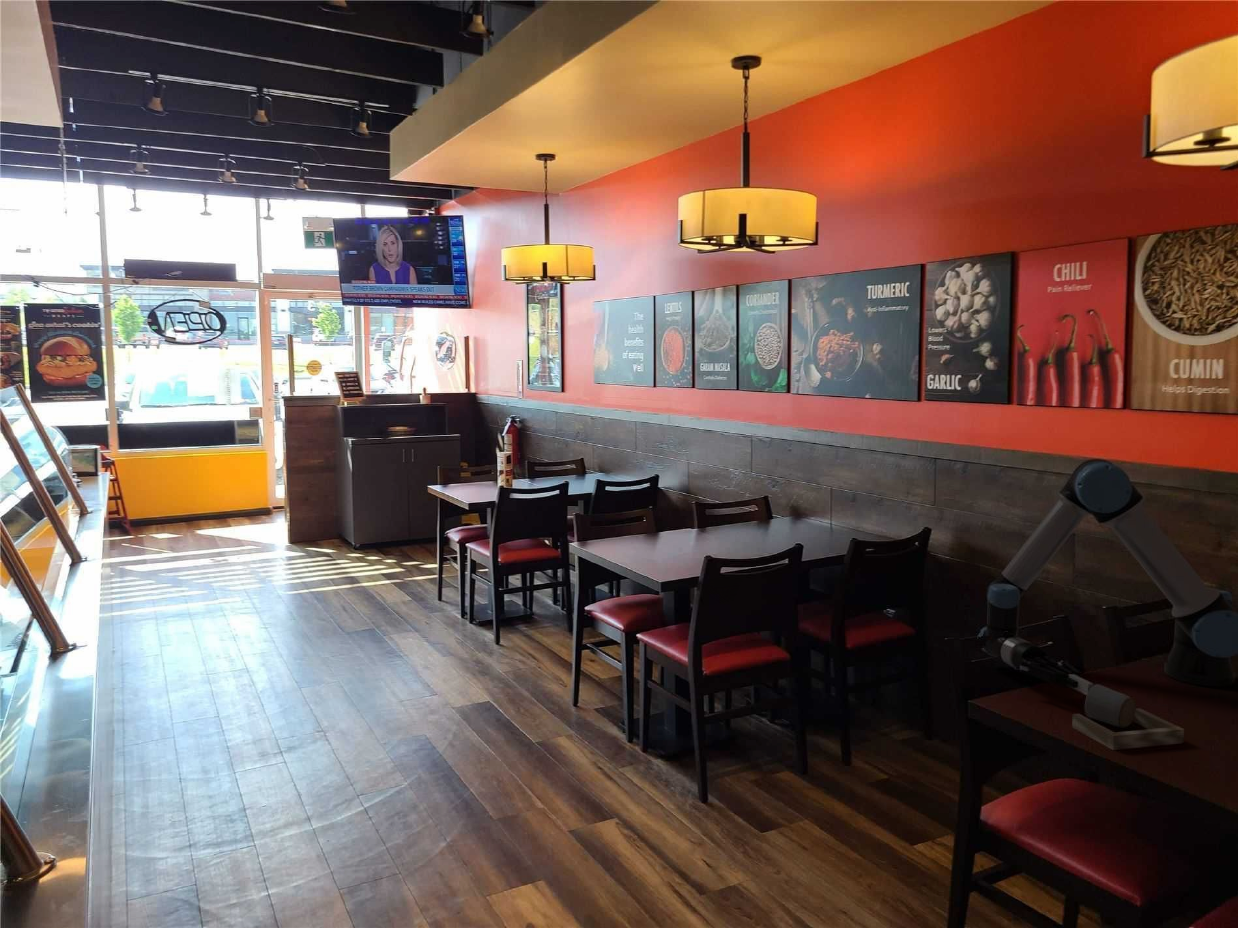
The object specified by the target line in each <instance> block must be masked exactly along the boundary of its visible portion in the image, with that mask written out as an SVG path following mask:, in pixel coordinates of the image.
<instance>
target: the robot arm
mask: <svg viewBox="0 0 1238 928" xmlns="http://www.w3.org/2000/svg"><path fill="white" fill-rule="evenodd" d="M1144 499H1145V498H1144V496H1143V495H1142V493H1141V492H1140V491H1139V490H1138V489H1137V488H1136V487H1135V485H1134V484H1133V483H1132V481H1131V479H1130V477H1129V475H1128V474H1127V473H1126V472H1125V471H1124V469H1122V468H1121V467H1120V466H1118V465H1116V464H1114V463H1113V462H1111V461H1108V460H1105V459H1101V458H1100V459H1099V458H1093V459H1092V458H1091V459H1089V460H1085V461H1083V462H1081V463H1080V464H1078V465H1077V466H1076V467H1075V469H1074V470H1073V472H1072V473H1071V475H1070V477H1069V478H1068V480H1067V481H1066V483H1065V484H1064V485H1063V487H1062V488H1061V490H1060V491H1059V492H1058V500H1057V502H1056V503H1055V504H1054V506H1052V508H1051V509H1050V510H1049V512H1048V513H1047V514H1046V515H1045V517H1044V518H1043V519H1042V521H1041V522H1040V523H1039V525H1037V527H1036V528H1035V530H1034V531H1033V532H1032V534H1031V535H1030V536H1029V537H1028V539H1027V540H1026V541H1025V542H1024V544H1022V546H1021V548H1020V549H1019V550H1018V552H1016V554H1015V555H1014V556H1013V558H1012V559H1011V560H1010V562H1009V563H1008V564H1007V565H1006V567H1005V568H1004V569H1003V570H1002V572H1001V574H1000V575H999V576H998V577H997V578H996V579H995V580H994V581H992V582H991V583H990V584H989V586H988V587H987V589H986V590H987V591H986V598H987V611H986V612H987V615H986V617H987V618H986V626H984V627H982V629H980V631H979V633H978V635H977V638H978V637H981V636H990V635H993V634H994V636H991V637H990V640H988V641H987V642H986V646H983V647H984V648H982V649H981V650H982V651H983V652H984V653H987V655H988V656H990V657H992V656H1001V658H1002V660H1003V661H1002V662H1003V663H1005V664H1006V665H1008V666H1010V667H1013V668H1014V670H1016V671H1019V673H1021V674H1025V675H1027V676H1032V677H1034V678H1036V679H1039V680H1042V681H1045V682H1048V683H1050V684H1052V685H1058V684H1060V685H1061V688H1062V689H1067V687H1070V688H1072V689H1074V690H1076V691H1078V692H1079V693H1081V694H1083V695H1086V696H1087V694H1088V692H1089V690H1090V689H1091V688H1092V687H1093V686H1094V683H1092V682H1090V681H1088V680H1087V679H1084V678H1082V672H1081V671H1080V670H1078V669H1077V668H1076V667H1075V666H1073V665H1072V664H1071V663H1069V660H1067V659H1062V660H1060V661H1056V660H1055V658H1051V657H1049V656H1048V655H1047V654H1046V652H1045V650H1044V649H1043V648H1042V647H1040V646H1038V645H1036V644H1034V643H1032V642H1030V641H1028V640H1026V639H1023V638H1021V637H1020V636H1018V629H1019V615H1020V614H1019V612H1020V603H1021V597H1022V596H1023V595H1024V593H1026V591H1027V589H1028V588H1029V587H1030V586H1031V584H1033V582H1034V581H1035V580H1036V579H1037V577H1038V576H1039V575H1040V574H1041V572H1042V571H1043V570H1044V568H1045V567H1046V566H1047V565H1048V563H1049V562H1050V561H1051V559H1053V557H1054V556H1055V555H1056V554H1057V553H1058V551H1059V550H1060V548H1061V547H1062V546H1063V545H1064V544H1065V543H1066V541H1067V540H1068V539H1069V537H1070V536H1071V535H1072V533H1073V532H1074V531H1075V530H1076V529H1077V527H1078V526H1080V524H1081V522H1082V521H1083V520H1084V518H1085V517H1088V516H1092V517H1094V519H1095V520H1096V521H1097V523H1098V524H1099V525H1103V526H1107V527H1110V529H1111V530H1112V531H1113V532H1114V534H1115V535H1116V536H1117V537H1118V538H1119V540H1120V541H1121V542H1122V544H1123V545H1124V546H1125V547H1126V549H1127V550H1128V551H1129V553H1131V555H1132V556H1133V557H1134V559H1135V560H1136V561H1137V562H1138V564H1139V565H1140V566H1141V567H1142V569H1143V570H1144V571H1145V572H1146V573H1147V575H1148V577H1150V578H1151V580H1152V581H1153V582H1154V584H1155V585H1156V586H1157V587H1158V588H1159V590H1160V591H1161V592H1162V593H1163V595H1164V596H1165V597H1166V599H1167V600H1168V601H1169V602H1170V604H1171V605H1172V611H1171V615H1172V617H1173V618H1174V619H1175V620H1174V622H1175V623H1174V635H1173V636H1174V638H1173V645H1172V647H1171V649H1170V651H1169V655H1168V656H1167V659H1166V660H1165V662H1164V667H1163V668H1164V671H1163V672H1164V674H1165V675H1167V676H1168V677H1170V678H1172V679H1175V680H1177V681H1180V682H1184V683H1188V684H1191V685H1192V684H1193V685H1197V686H1204V687H1214V688H1215V687H1216V688H1217V687H1219V688H1221V687H1230V686H1233V685H1234V684H1235V683H1236V672H1235V670H1234V669H1233V664H1232V660H1231V657H1233V656H1237V655H1238V612H1237V611H1236V609H1235V608H1234V607H1233V605H1232V604H1233V599H1232V598H1233V596H1232V594H1231V593H1230V592H1229V591H1227V590H1222V589H1221V590H1220V589H1218V588H1214V587H1208V586H1207V585H1206V584H1205V582H1204V581H1203V580H1202V579H1201V578H1200V576H1199V575H1198V574H1197V572H1196V571H1195V570H1194V569H1193V567H1191V565H1190V564H1189V562H1188V561H1187V560H1186V559H1185V558H1184V556H1183V555H1182V554H1181V552H1179V550H1178V549H1177V548H1176V546H1175V545H1174V544H1173V543H1172V541H1171V540H1170V539H1169V538H1168V537H1167V536H1166V534H1165V533H1164V532H1163V531H1162V529H1161V527H1160V526H1158V524H1157V523H1156V522H1155V520H1153V518H1152V517H1151V515H1149V513H1148V512H1147V511H1146V510H1145V508H1144V507H1143V503H1144ZM1005 631H1008V632H1005ZM1234 682H1235V683H1234ZM1233 683H1234V684H1233Z"/></svg>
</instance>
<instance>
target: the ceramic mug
mask: <svg viewBox="0 0 1238 928" xmlns="http://www.w3.org/2000/svg"><path fill="white" fill-rule="evenodd" d="M1136 709H1137V706H1136V702H1135V700H1134V699H1133V698H1132V697H1130V696H1129V695H1126V694H1125V693H1122V692H1119V691H1117V690H1113V689H1111V688H1109V687H1106V686H1105V685H1101V684H1099V683H1098V684H1097V683H1096V684H1093V687H1092V688H1091V689H1090V690H1089V692H1088V694H1087V695H1086V697H1085V700H1084V713H1085V715H1086V717H1087V718H1089V719H1092V720H1095V721H1096V720H1097V721H1099V722H1101V723H1105V724H1107V725H1111V726H1113V727H1116V728H1122V729H1123V728H1127V727H1129V726H1131V723H1132V722H1133V718H1134V715H1135V711H1136Z"/></svg>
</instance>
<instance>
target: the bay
mask: <svg viewBox="0 0 1238 928" xmlns="http://www.w3.org/2000/svg"><path fill="white" fill-rule="evenodd" d="M1071 721H1072V722H1071V723H1072V724H1071V725H1072V726H1071V728H1072V727H1073V728H1072V729H1075V730H1076V731H1078V732H1080V733H1082V734H1084V735H1085V736H1087V737H1089V738H1091V739H1092V740H1094V741H1096V742H1098V743H1099V744H1101V745H1104V746H1105V747H1106V748H1108V749H1111V750H1112V751H1117V750H1126V749H1127V750H1128V749H1137V748H1147V747H1148V748H1149V747H1157V746H1169V745H1177V744H1184V735H1185V729H1184V728H1182V727H1180V726H1178V725H1175V724H1174V723H1171V722H1170V721H1167V720H1165V719H1163V718H1162V717H1159V716H1156V714H1153V713H1151V712H1148V711H1146V710H1145V709H1142V708H1138V707H1137V708H1136V711H1135V715H1134V718H1133V720H1132V722H1133V723H1135V724H1137V725H1138V726H1140V727H1142V728H1145V729H1140V730H1139V729H1137V730H1127V731H1117V732H1114V731H1113V730H1110V729H1109V728H1108V727H1105V726H1103V725H1101V724H1099V723H1097V722H1095V721H1093V719H1091V718H1089V717H1087V716H1084V715H1083V714H1080V713H1072V720H1071Z"/></svg>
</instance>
